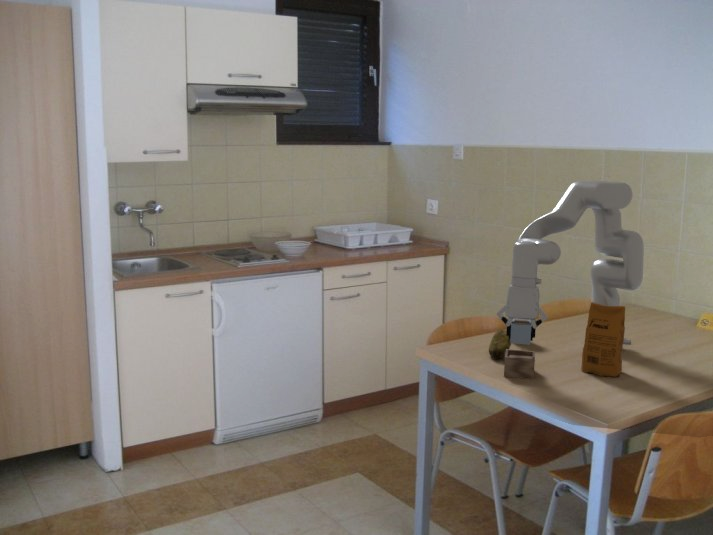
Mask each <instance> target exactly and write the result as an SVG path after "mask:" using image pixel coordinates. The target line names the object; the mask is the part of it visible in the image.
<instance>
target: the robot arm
mask: <svg viewBox="0 0 713 535" xmlns="http://www.w3.org/2000/svg"><path fill="white" fill-rule="evenodd" d="M632 200H633V189H632V188H631V186H630V185H629V183H626V182H620V181H618V182H617V181H608V180H607V181H606V180H605V181H604V180H588V181H587V180H578V181H574V182H573V183H571V184H570V185H569V186H568V188H567V189H566V190H565V191H564V194H563V195H562V196H561V198H560V199H559V201H558V202H557V204H556V205H555V206H554V208H553V210H552V211H550V212H548V213H547V214H545V215H542V216H540V217H539V218H537V219H535V220H534V221H532V222H531V223H530V224H529V225H527V227H525V228H524V230H523V232H522V233H521V234H520V236H519V237H518V238H517V240H516V242H515V243H514V244H513V247H512V248H513V249H512V262H511V263H512V266H511V267H512V268H511V279H510V280H511V284H508V287H507V292H506V299H505V305H503V306H502V307H501V308H500V309H499V310H498V311H497V312H496V316H497V317H498V318H499V319H500V320H501V321H502V323H504V324H505V325H506V331H507V333H506V336H509V338H508V339H510V338H511V322H512V320H513V318H518V319H530V321H531V340H530V342H533V339H535V338H536V329H537V328H538V327H539V326H540V325H541V324H543V322H545V321H546V320H548V315H547V314H546V312H545V311H543V309H542V308H541V307H540V288H539V286H538V285H539V284H540V285H541V284H542V278H541V279H539V277H538V265H542V266H543V265H544V266H549V265H553V264H555V263H556V262H558V261H559V259H560V257H561V248H560V246H559V245H558V243H556V242H555V241H553V240H547V239H544V238H545V237H548V236H551V235H554V234H558V233H562V232H566V231H569V230H572V229H573V228H575V227H576V225H577V223H578V222H579V220H580V219H581V217H582V216H583V215H584V214H585V211H586V210H587V209H591V211H592V212H593V214H594V223H595V224H594V230H595V231H594V233H595V234H594V237H595V238H594V242H595V243H594V244H595V245H594V247H595V250H596V252H597V253H598V254H600V255H602V256H606V257H614V258H620V259H623V260H619V259H612V258H604V257H603V258H598V259H597V260H595V261H593V263H592V264H591V266H590V282H591V301H590V303H591V302H594V303H598V304H601V305H604V306H621V297H620V294H619V291H618V289H620V290H626V291H635V290H636V291H637V289H638V288H639V287H640V286H641V285H642V283H643V279H644V278H643V275H644V253H645V252H644V248H645V247H644V240H643V237H642V236H641V234H640V233H639V232H638V231H633V230H628V229H623V227H622V213H621V210H622V209H625V208H627V207H628V206H629V205H630V203H631V202H632ZM504 313H505V315H504ZM539 315H540V316H541V317H539ZM584 343H585V340H584V342H583V344H584ZM623 345H627V346H631V345H632V339H630V338H629V339H628V338H626V337H624V341H623Z"/></svg>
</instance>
